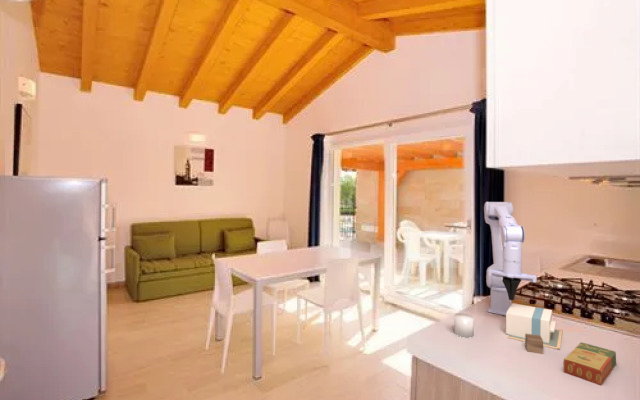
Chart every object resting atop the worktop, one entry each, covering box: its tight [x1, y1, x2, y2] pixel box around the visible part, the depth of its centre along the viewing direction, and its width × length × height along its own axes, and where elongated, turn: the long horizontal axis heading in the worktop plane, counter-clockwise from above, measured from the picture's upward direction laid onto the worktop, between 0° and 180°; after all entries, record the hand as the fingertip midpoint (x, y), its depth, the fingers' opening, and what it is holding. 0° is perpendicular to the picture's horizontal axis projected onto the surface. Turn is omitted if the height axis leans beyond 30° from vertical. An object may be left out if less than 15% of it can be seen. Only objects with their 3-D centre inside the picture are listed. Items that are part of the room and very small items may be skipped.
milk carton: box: [505, 302, 557, 343], centre depth 115 cm, size 12×7×13 cm
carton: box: [563, 342, 617, 386], centre depth 93 cm, size 8×16×4 cm, turn 129°
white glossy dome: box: [453, 312, 475, 339], centre depth 115 cm, size 6×6×6 cm
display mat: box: [507, 328, 563, 351], centre depth 114 cm, size 17×14×1 cm
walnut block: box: [524, 334, 544, 355], centre depth 104 cm, size 4×4×4 cm
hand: (511, 299), depth 118 cm, fingers closed
